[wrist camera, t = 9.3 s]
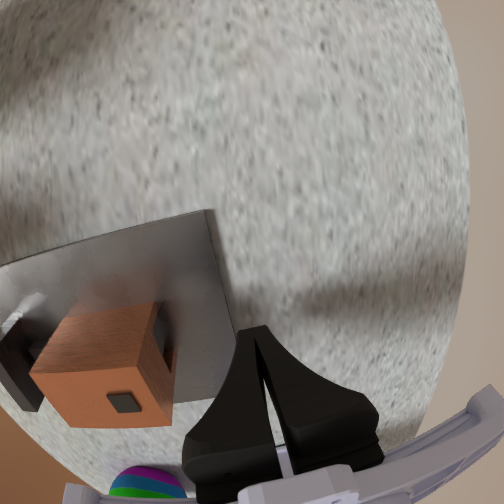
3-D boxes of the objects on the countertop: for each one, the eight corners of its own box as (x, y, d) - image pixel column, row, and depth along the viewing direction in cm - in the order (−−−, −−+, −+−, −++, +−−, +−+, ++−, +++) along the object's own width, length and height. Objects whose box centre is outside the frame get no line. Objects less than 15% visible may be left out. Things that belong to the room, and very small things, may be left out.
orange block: (176, 358, 16) (171, 428, 11) (92, 368, 15) (70, 429, 11) (154, 301, 14) (135, 369, 10) (63, 317, 14) (27, 375, 9)
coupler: (249, 386, 18) (258, 433, 14) (56, 404, 17) (42, 440, 13) (203, 209, 14) (201, 234, 10) (-20, 272, 12) (-54, 301, 9)
